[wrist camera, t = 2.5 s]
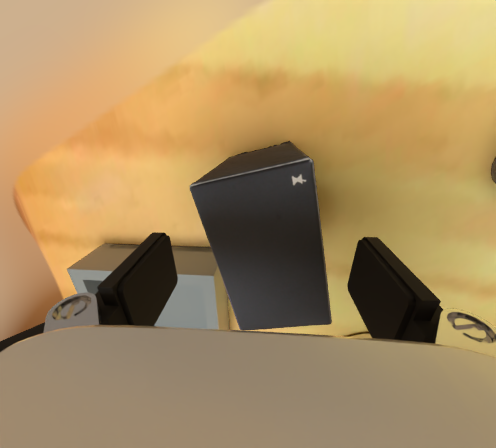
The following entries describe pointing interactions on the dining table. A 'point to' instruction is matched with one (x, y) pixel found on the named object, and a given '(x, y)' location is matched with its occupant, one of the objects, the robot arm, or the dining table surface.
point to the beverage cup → (494, 171)
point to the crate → (183, 296)
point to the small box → (267, 237)
